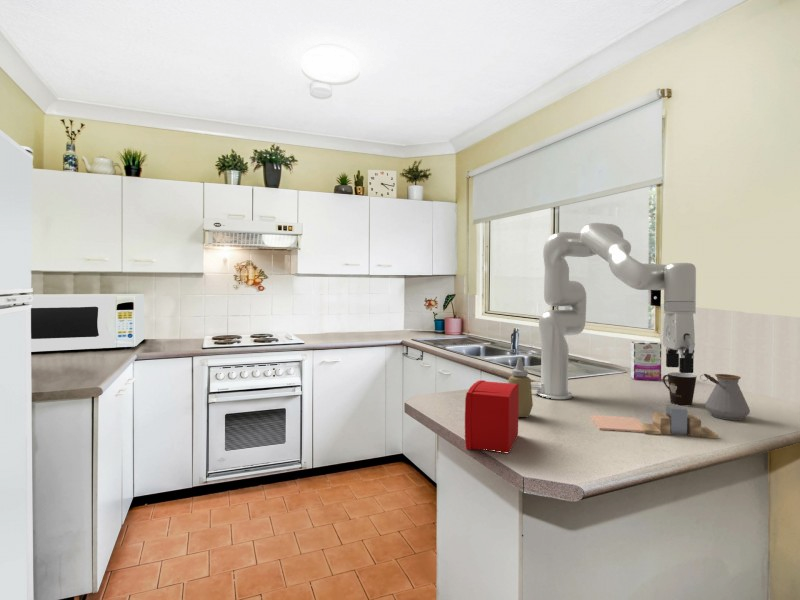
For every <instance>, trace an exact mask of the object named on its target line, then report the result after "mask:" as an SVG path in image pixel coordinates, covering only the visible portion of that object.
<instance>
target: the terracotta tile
mask: <svg viewBox="0 0 800 600" xmlns="http://www.w3.org/2000/svg"><path fill="white" fill-rule="evenodd" d="M589 416H590V419H591V420H592V421H594V422H593V423H594V424H595V426H596V425H597V426H596V427H597V429H598V430H599V431H609V430H615V431H614V432H625V431H631V432H630V433H641V432H644V430H643V429H642V428H641V427H640V426H639V425H638V424H637V423H642V422H641V421H640V420H639V419H637V417H631V416H630V417H627V416H615V415H614V416H611V415H610V416H609V415H594V414H593V415H591V414H590V415H589Z"/></svg>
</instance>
